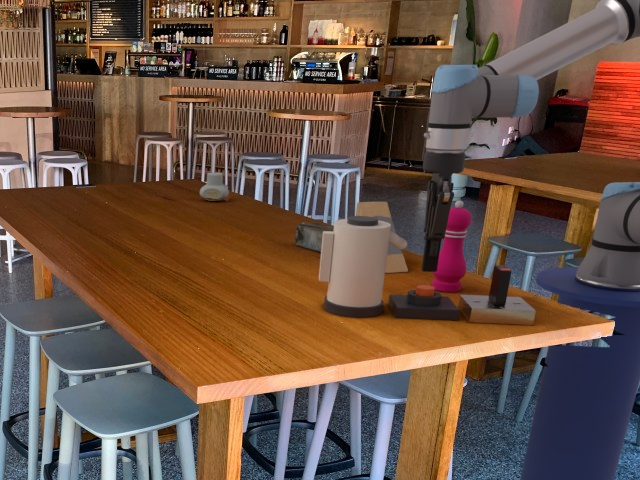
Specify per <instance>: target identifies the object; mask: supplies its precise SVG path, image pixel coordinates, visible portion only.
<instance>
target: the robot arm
mask: <svg viewBox="0 0 640 480" xmlns="http://www.w3.org/2000/svg"><path fill="white" fill-rule="evenodd" d="M595 5H596V6H595V8H594V9H592V10H590V11H588V12H586V13H584V14H582V15H580V16H578V17H576V18H575V19H572V20H570V21H569V22H566V23H565V24H563V25H561V26H558V27H557V28H554V29H553V30H551V31H549V32H547V33H545V34H543V35H540V36H539V37H537V38H536V39H533V40H531V41H529V42H527V43H525V44H523V45H522V46H519V47H517V48H516V49H514V50H512V51H509V52H508V53H506V54H503V55H502V56H500V57H498V58H496V59H494V60H493V61H492V60H491V61H490V62H487V63H486V64H484V65H482V66H477V64H442V65H439V66H438V67H437V69H436V70H435V72H434V73H435V74H434V76H433V83H432V87H431V88H432V89H431V90H430V91H431V97H430V107H429V116H428V122H427V123H428V124H427V132H424V133H423V138H424V139H426V141H425V148H426V149H427V151H425V152H424V154H423V161H422V171H424V173H429V174H432V176H431V180H428V183H427V184H426V204H425V217H424V227H423V232H424V235H425V236H424V249H423V255H422V263H421V271H422V272H423V273H424V272H426V273H432V272H437V267H438V260H439V253H440V252H441V244H442V240H444V238H445V233H446V228H447V223H448V218H449V213H450V209H451V208H452V203H453V201H454V198H455V192H454V184H455V183H454V182H452V180H453V179H452V176H453V174H461V173H463V172H464V170H465V163H466V158H467V154H466V152H465V151H466V150H467V149H468V146H469V139H470V138H469V137H470V131H471V123H472V119H478V118H486V119H487V118H491V119H492V118H494V119H495V118H510V119H514V118H521V117H522V118H523V117H526V116H528V115H529V114H531V113H532V112H533V110H535V108H536V106H537V103H538V100H539V99H538V98H539V94H540V88H539V84H538V80H540V79H543V78H544V77H546V76H548V75H550V74H552V73H554V72H556V71H558V70H561V69H562V68H564V67H566V66H568V65H570V64H572V63H574V62H576V61H578V60H580V59H582V58H584V57H586V56H588V55H591V54H592V53H595V52H596V51H599V50H600V49H602V48H604V47H606V46H608V45H610V46H619V45H621V44H624V43H625V42H628V41H631V40H633V39H635V38H639V37H640V0H599V1H598V2H597V4H595ZM599 202H600V203H599V206H598V212H597V216H596V220H595V226H594V231H593V235H592V240H591V245H590V247H589V249H588V252H587V253H586V255H585V256H584V258H583V260H582V261H581V263H580V264H579V266H578V267H579V268H578V270H577V272H576V276H575V281H577V282H578V283H580V284H583V285H586V286H589V287H593V288H598V289H603V290H610V291H621V292H640V181H635V182H634V181H628V182H627V181H622V182H611V183H608V184H607V185H606V186H604V189H603V192H602V195H601V198H600V200H599Z"/></svg>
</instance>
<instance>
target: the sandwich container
mask: <svg viewBox="0 0 640 480" xmlns="http://www.w3.org/2000/svg"><path fill="white" fill-rule="evenodd" d="M355 210H356V211H355V216H369V217H375V218H377V219H378V220H379V221H384V222H387V223H389V224H391V228H390V231H391V232H393V233H394V234H396V235H398V234H397V231H396V229H395V225H394V222H393V218H392V215H391V211H390V208H389V203H388V201H358V202H357V203H356V209H355ZM392 273H393V274H394V273H409V269H408V267H407V263H406V260H405V256H404V254H403V251H402V249H399V248H397V247H396V246H394V245H392V244H391V243H389V244H388V252H387V260H386V268H385V274H392Z"/></svg>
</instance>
